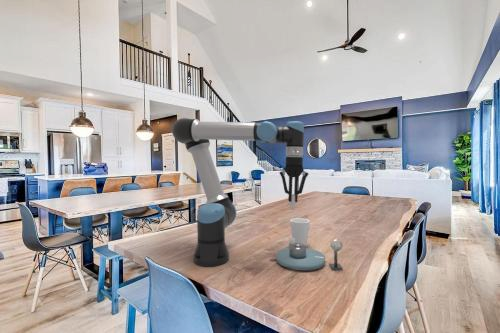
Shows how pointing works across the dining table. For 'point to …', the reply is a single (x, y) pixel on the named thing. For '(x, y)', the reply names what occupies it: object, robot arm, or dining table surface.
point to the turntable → (309, 263)
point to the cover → (297, 251)
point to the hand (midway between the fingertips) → (292, 209)
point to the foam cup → (300, 230)
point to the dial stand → (336, 246)
